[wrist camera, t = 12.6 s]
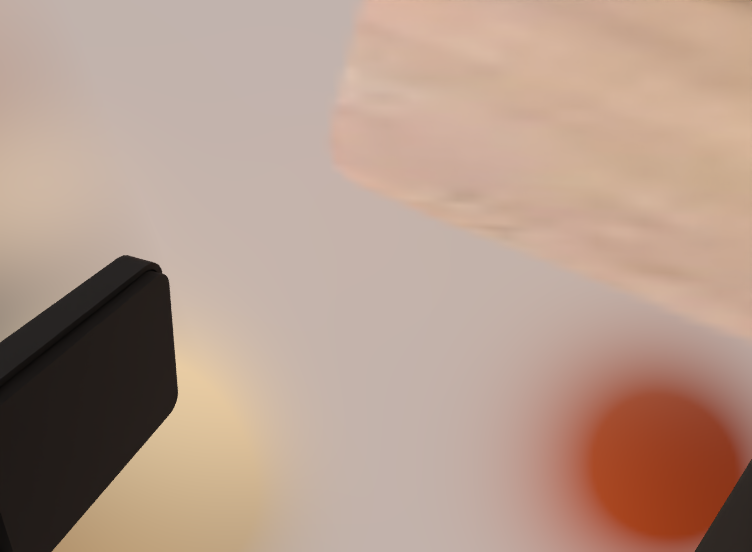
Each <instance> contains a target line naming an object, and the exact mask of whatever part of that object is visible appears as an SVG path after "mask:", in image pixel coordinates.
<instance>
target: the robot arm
mask: <svg viewBox="0 0 752 552" xmlns="http://www.w3.org/2000/svg"><path fill="white" fill-rule="evenodd" d="M177 396H178V387H177V375H176V362H175V350H174V337H173V325H172V313H171V301H170V288H169V280H168V278H167V276H166V275H164V274H162V270H161V268H160V266H159V265H158V264H156V263H153V262H150V261H146V260H143V259H139V258H135V257H131V256H128V255H126V256H125V255H123V256H121V257H119V258H117V259H116V260H114V261H113V262H112V263H110V264H109V265H107V266H106V267H105V268H103V269H102V270H100V271H99V272H98V273H96V274H95V275H94V276H92V277H91V278H90V279H88V280H87V281H85V282H84V283H82V284H81V285H80V286H78V287H77V288H75V289H74V290H73V291H71V292H70V293H68V294H67V295H66V296H64V297H63V298H62V299H60V300H59V301H57V302H56V303H55V304H53V305H52V306H51V307H49V308H48V309H46V310H45V311H43V312H42V313H41V314H39V315H38V316H37V317H35V318H34V319H32V320H31V321H29V322H28V323H27V324H25V325H24V326H23V327H21V328H20V329H18V330H17V331H16V332H15V333H13V334H11V335H10V336H9V337H7V338H6V339H4V340H3V341H2V342H0V552H52V551H53V549H54V548H55V547H56V546H57V545H58V544H59V542H60V541H61V540H62V539H63V538H64V537H65V536H66V534H67V533H68V532H69V531H70V530H71V529H72V527H73V526H74V525H75V524H76V523H77V521H78V520H79V519H80V518H81V517H82V516H83V515H84V513H85V512H86V511H87V510H88V509H89V508H90V506H91V505H92V504H93V503H94V502H95V500H96V499H97V498H98V497H99V496H100V495H101V493H102V492H103V491H104V490H105V489H106V488H107V487H108V485H109V484H110V483H111V482H112V481H113V480H114V478H115V477H116V476H117V475H118V474H119V473H120V471H121V470H122V469H123V468H124V467H125V466H126V464H127V463H128V462H129V461H130V460H131V459H132V458H133V456H134V455H135V454H136V453H137V452H138V451H139V449H140V448H141V447H142V446H143V445H144V443H145V442H146V441H147V440H148V439H149V438H150V437H151V435H152V434H153V433H154V432H155V431H156V429H157V428H158V427H159V426H160V425H161V424H162V423H163V421H164V420H165V419H166V418H167V416H169V414H170V413H171V412H172V410H173V408H174V406H175V404H176V401H177ZM695 552H752V460H751V461H750V463H749V464H748V466H747V468H746V469H745V471H744V473H743V474H742V476H741V477H740V479H739V481H738V482H737V484H736V486H735V487H734V489H733V491H732V492H731V494H730V495H729V497H728V498H727V500H726V502H725V503H724V505H723V507H722V508H721V510H720V511H719V513H718V515H717V516H716V518H715V520H714V521H713V523H712V524H711V526H710V528H709V529H708V531H707V533H706V534H705V536H704V537H703V539H702V541H701V542H700V544H699V545H698V547H697V549H696V550H695Z"/></svg>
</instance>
